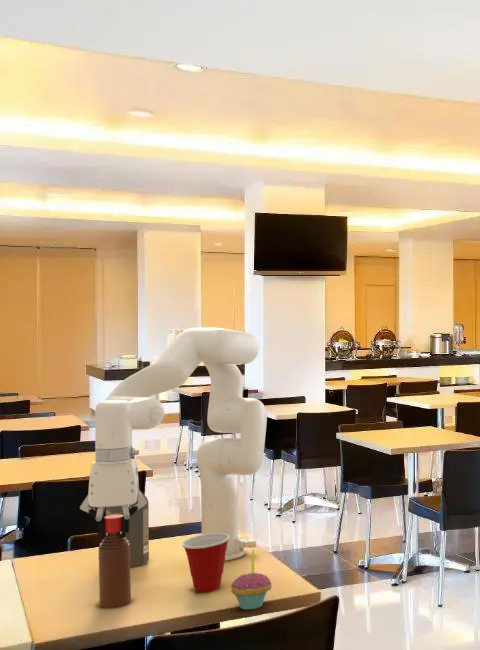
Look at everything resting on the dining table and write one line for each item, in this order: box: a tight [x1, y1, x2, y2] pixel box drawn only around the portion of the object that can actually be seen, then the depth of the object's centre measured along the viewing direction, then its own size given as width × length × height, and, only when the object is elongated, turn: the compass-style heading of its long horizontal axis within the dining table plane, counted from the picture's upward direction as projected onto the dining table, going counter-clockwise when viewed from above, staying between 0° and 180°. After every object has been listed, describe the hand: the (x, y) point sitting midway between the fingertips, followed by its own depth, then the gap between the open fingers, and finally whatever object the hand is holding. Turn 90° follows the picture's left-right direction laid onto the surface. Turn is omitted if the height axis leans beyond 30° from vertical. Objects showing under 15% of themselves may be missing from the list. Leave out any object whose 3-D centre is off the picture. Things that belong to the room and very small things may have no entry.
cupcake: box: [230, 549, 272, 611], centre depth 193 cm, size 9×8×12 cm
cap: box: [104, 515, 123, 533], centre depth 196 cm, size 4×4×3 cm
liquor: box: [105, 447, 150, 569], centre depth 228 cm, size 9×9×30 cm
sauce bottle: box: [98, 532, 132, 609], centre depth 196 cm, size 6×6×19 cm
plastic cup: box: [181, 533, 230, 593], centre depth 206 cm, size 11×11×12 cm
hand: (113, 536), depth 196 cm, fingers closed on cap, 3 cm apart
